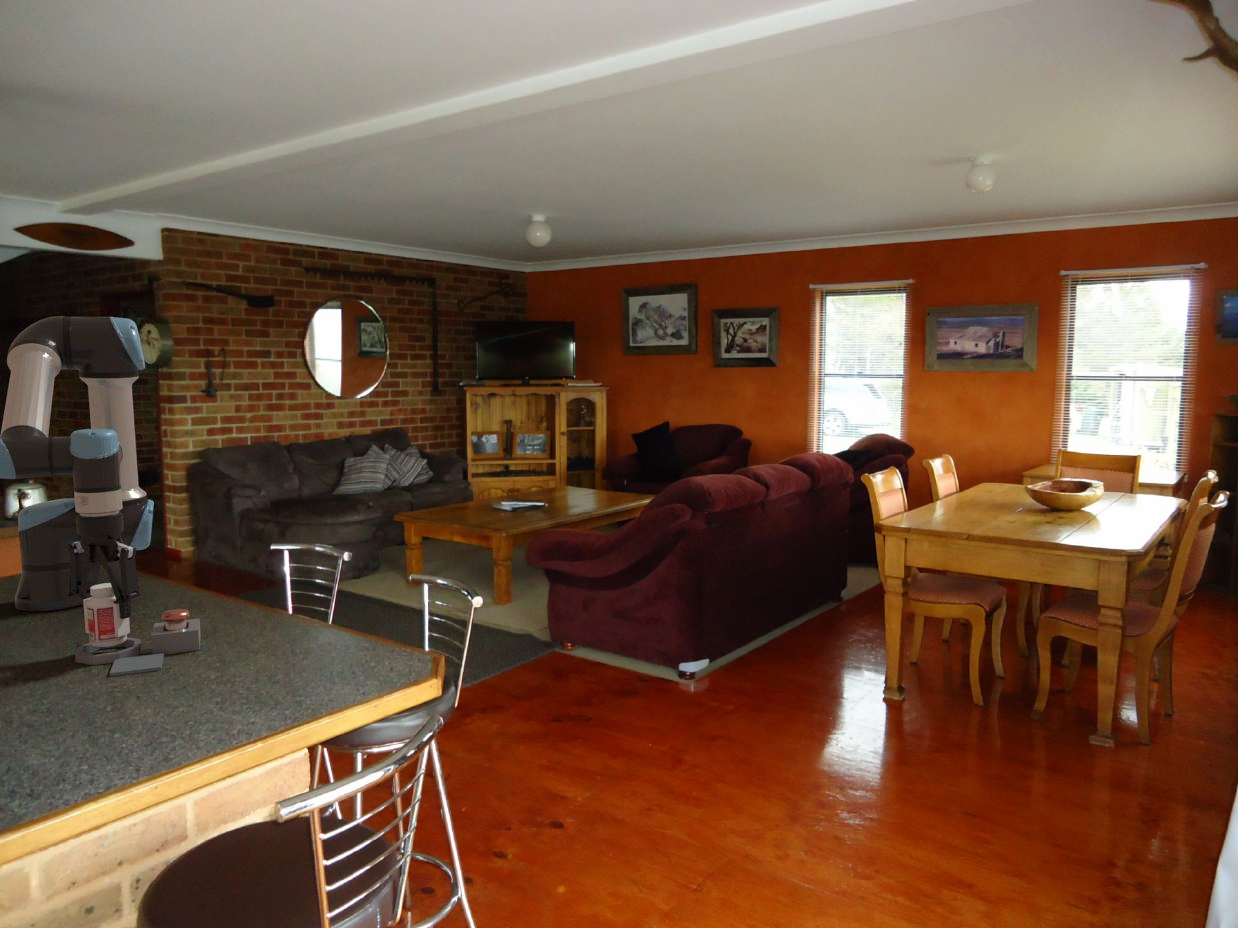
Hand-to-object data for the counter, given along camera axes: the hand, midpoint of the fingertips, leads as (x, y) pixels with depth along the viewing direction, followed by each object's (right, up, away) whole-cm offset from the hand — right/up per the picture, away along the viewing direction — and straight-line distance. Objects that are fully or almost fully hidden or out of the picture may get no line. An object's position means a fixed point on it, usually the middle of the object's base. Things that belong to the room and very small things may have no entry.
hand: (107, 632), depth 164 cm
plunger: (+11, -3, +5) cm, 12 cm away
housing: (+5, -4, +3) cm, 7 cm away
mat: (+9, -5, -6) cm, 12 cm away
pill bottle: (0, -2, 0) cm, 2 cm away
